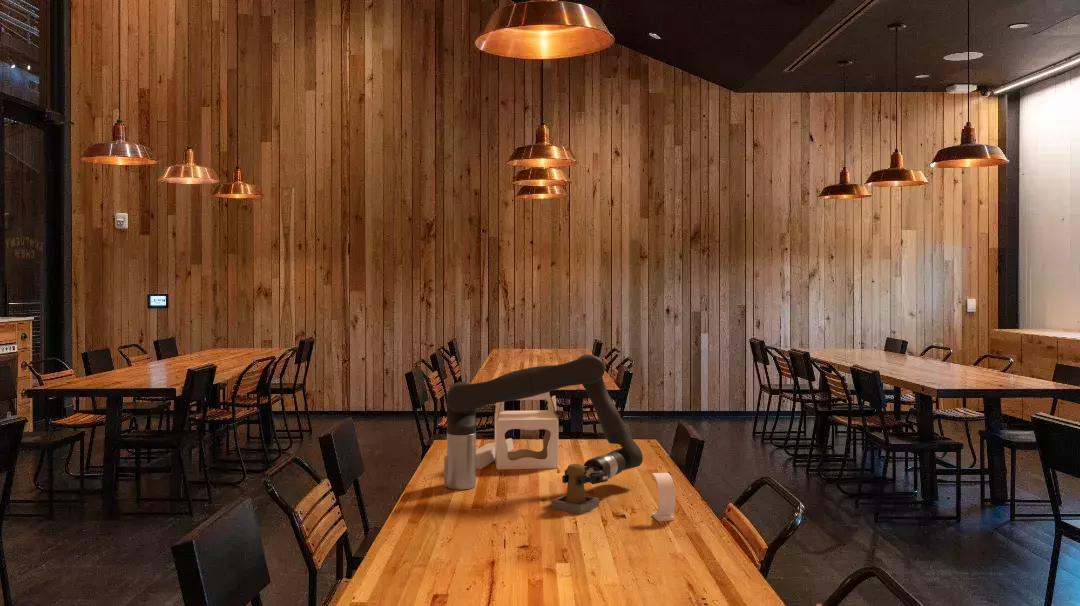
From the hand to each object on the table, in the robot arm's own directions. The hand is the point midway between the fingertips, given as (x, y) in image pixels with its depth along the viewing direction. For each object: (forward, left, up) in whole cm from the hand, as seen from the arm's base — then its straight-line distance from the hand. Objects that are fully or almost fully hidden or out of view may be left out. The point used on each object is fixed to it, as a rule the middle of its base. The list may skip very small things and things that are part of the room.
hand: (570, 480), depth 213 cm
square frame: (+1, +3, -8) cm, 9 cm away
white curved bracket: (+27, +1, -8) cm, 28 cm away
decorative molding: (-50, +51, -9) cm, 72 cm away
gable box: (-32, +46, -9) cm, 57 cm away
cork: (+1, +3, -7) cm, 8 cm away
